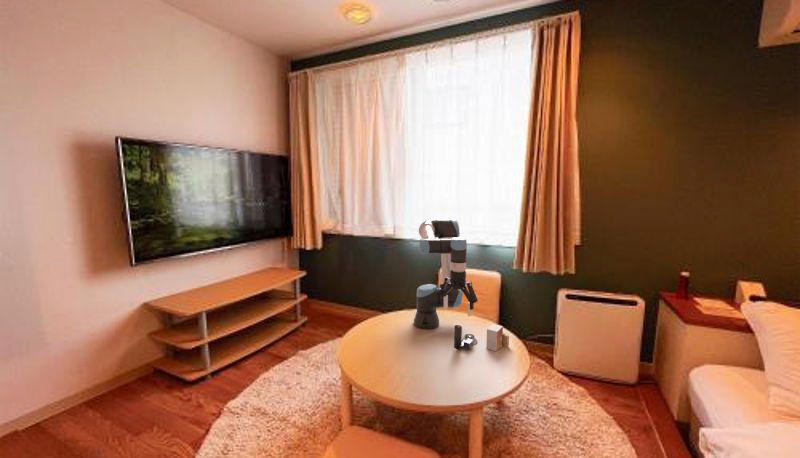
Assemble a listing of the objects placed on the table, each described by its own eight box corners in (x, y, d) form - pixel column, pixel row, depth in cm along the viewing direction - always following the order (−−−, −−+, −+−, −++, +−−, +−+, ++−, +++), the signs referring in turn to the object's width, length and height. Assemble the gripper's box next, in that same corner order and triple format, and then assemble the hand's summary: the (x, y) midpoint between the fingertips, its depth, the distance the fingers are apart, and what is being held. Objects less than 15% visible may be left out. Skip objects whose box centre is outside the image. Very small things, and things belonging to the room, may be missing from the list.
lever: (467, 336, 178) (467, 315, 176) (479, 340, 173) (480, 318, 171) (451, 350, 164) (451, 326, 162) (464, 354, 160) (464, 330, 158)
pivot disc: (458, 340, 175) (458, 339, 175) (469, 336, 180) (469, 335, 180) (469, 346, 169) (469, 345, 169) (480, 342, 173) (480, 341, 173)
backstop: (494, 341, 174) (494, 330, 173) (496, 340, 175) (496, 329, 174) (506, 347, 167) (507, 336, 167) (508, 346, 168) (509, 335, 167)
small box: (496, 351, 163) (497, 332, 162) (486, 348, 167) (486, 329, 165) (502, 345, 170) (503, 326, 168) (492, 342, 173) (492, 323, 171)
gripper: (432, 267, 163) (432, 307, 167) (478, 276, 147) (476, 321, 151) (440, 264, 169) (440, 303, 172) (485, 272, 153) (484, 316, 156)
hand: (457, 311), depth 161 cm, fingers open, 13 cm apart
